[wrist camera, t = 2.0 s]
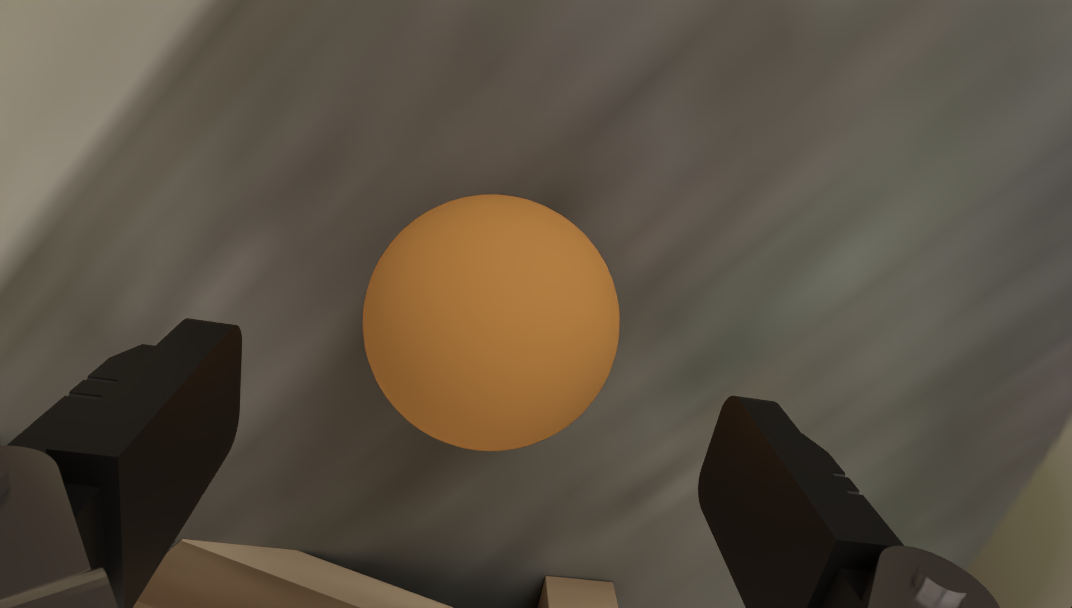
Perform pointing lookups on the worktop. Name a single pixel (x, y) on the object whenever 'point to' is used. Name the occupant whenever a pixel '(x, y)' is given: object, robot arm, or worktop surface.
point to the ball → (491, 322)
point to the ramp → (307, 583)
